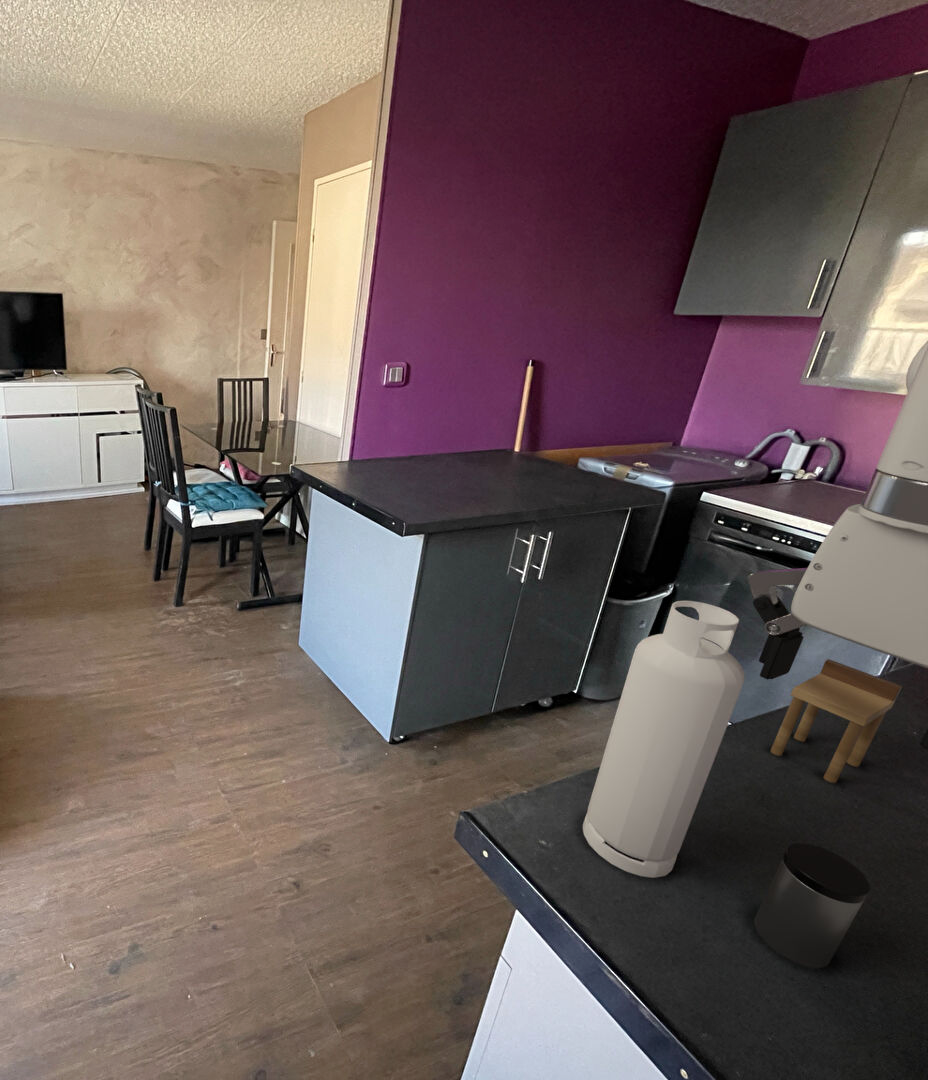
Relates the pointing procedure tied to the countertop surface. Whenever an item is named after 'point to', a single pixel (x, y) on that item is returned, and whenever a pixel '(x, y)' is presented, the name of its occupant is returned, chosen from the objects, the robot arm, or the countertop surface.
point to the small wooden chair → (839, 711)
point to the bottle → (664, 740)
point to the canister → (810, 904)
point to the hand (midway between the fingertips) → (847, 706)
